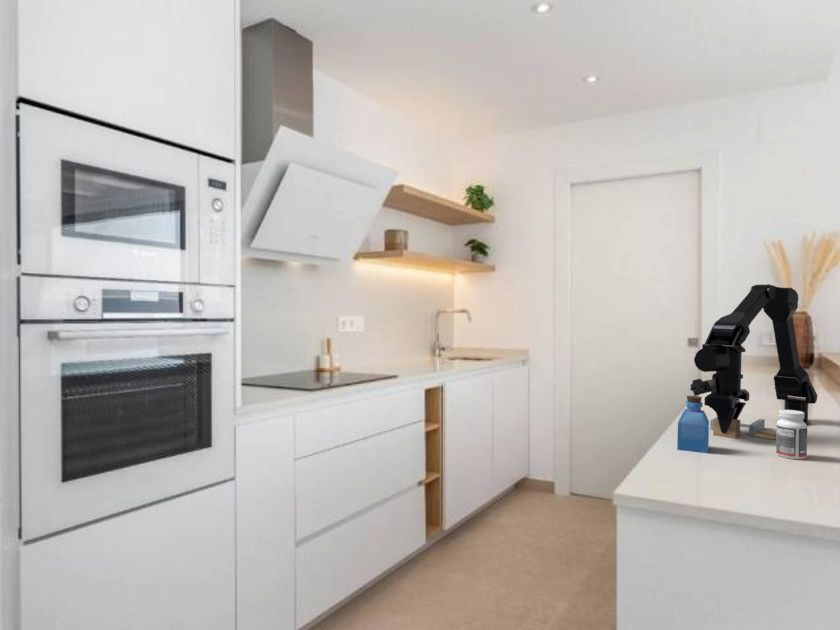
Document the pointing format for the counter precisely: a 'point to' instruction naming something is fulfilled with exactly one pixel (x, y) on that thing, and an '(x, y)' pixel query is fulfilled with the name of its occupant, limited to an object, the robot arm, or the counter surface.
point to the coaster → (765, 434)
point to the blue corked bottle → (693, 427)
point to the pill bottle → (791, 435)
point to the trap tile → (744, 425)
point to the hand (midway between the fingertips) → (726, 431)
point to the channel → (752, 427)
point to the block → (732, 430)
